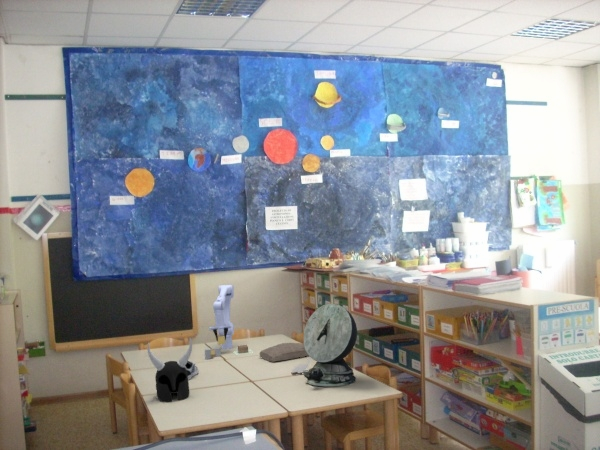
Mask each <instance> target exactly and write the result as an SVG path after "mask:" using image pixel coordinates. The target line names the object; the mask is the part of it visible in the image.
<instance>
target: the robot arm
mask: <svg viewBox="0 0 600 450" xmlns="http://www.w3.org/2000/svg"><path fill="white" fill-rule="evenodd" d="M217 289H218V294H219V295H218V296H217V297H216V300H215V301H214V302H213V303H212V305H213V307H212V308H213V313H214V320H215V326H209V328H208V331H212V332H213V333H214V336H215V340H216V342H217V341H218V337H217V336H219V335H224V336H225V344H221V347H220V348H221V349H222V350H230V349H233V346H234V344H233V336H234V334H235V325H234V323H232V321H231V303H232V299H233V298H234V296H235V295H234V294H235V287H234V285H233V284H223V285H222V284H219V285H218V288H217Z"/></svg>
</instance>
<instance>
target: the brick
mask: <svg viewBox="0 0 600 450" xmlns="http://www.w3.org/2000/svg"><path fill="white" fill-rule="evenodd" d="M217 337H218V341H217V340H216V342H217V345H222V344H225V336H224V335H219V334H218V335H217Z"/></svg>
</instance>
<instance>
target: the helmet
mask: <svg viewBox="0 0 600 450" xmlns="http://www.w3.org/2000/svg"><path fill="white" fill-rule="evenodd" d="M146 347H147V353H148V358H149V360H150V361H151V364H152V365H153V366H154V368H155V369H156V370H157V371H156V373H155V390H156V397H157V398H158V400H159V401H160V402H164V403H168V402H172V400H173V398H172V393H176V395H177V400H178V401H179V400H185V399H187V398H189V396H190V383H189V380H188V374H187V370H186V368H185V365H186V363H187V362H188V361H189V359H190V357H191V354H192V352H193V351H192V350H193V343H192V338H191V337H189V347H188V349H187V350H186V352H185V353H184V354H183V355H182V356H181V357H180V358H179V360H176V361H175V360H169V361H165V362H163V361H162V360H160V359H159V358H157V357H156V356H155V355H154V354H153V353H152V352H151V349H150V342H149V341H148V343H147V346H146Z"/></svg>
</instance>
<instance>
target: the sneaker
mask: <svg viewBox="0 0 600 450" xmlns="http://www.w3.org/2000/svg"><path fill="white" fill-rule="evenodd" d="M185 368H186V370H187V374H188V381H189V380H191V379H192V377H195V376H196V375H197V374H199V371H200V370H199V368H198V366H197V365H196V362H194V361H193V360H192V361H190V360H188V362H187V363H186V365H185Z"/></svg>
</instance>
